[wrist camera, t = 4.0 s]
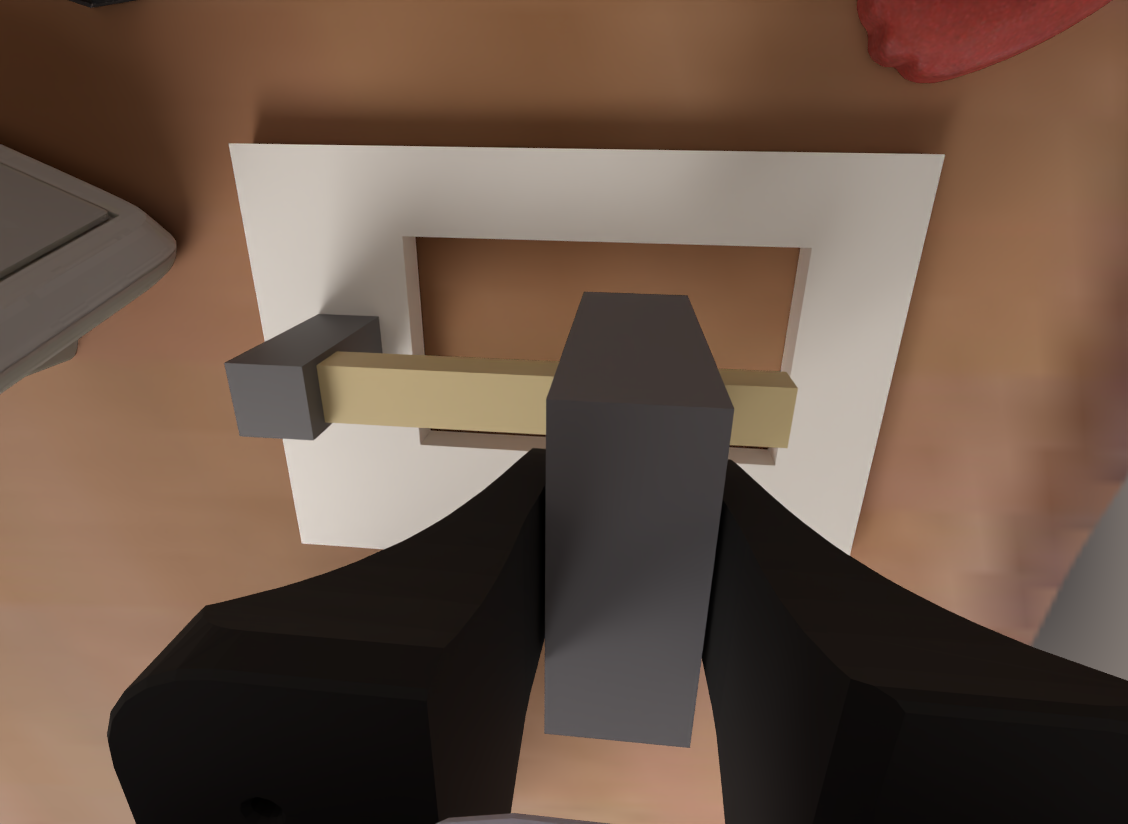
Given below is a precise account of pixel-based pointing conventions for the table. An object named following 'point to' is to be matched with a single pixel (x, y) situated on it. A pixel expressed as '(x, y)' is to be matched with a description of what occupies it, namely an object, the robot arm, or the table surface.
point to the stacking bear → (961, 32)
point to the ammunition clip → (98, 2)
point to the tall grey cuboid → (631, 518)
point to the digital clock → (66, 262)
